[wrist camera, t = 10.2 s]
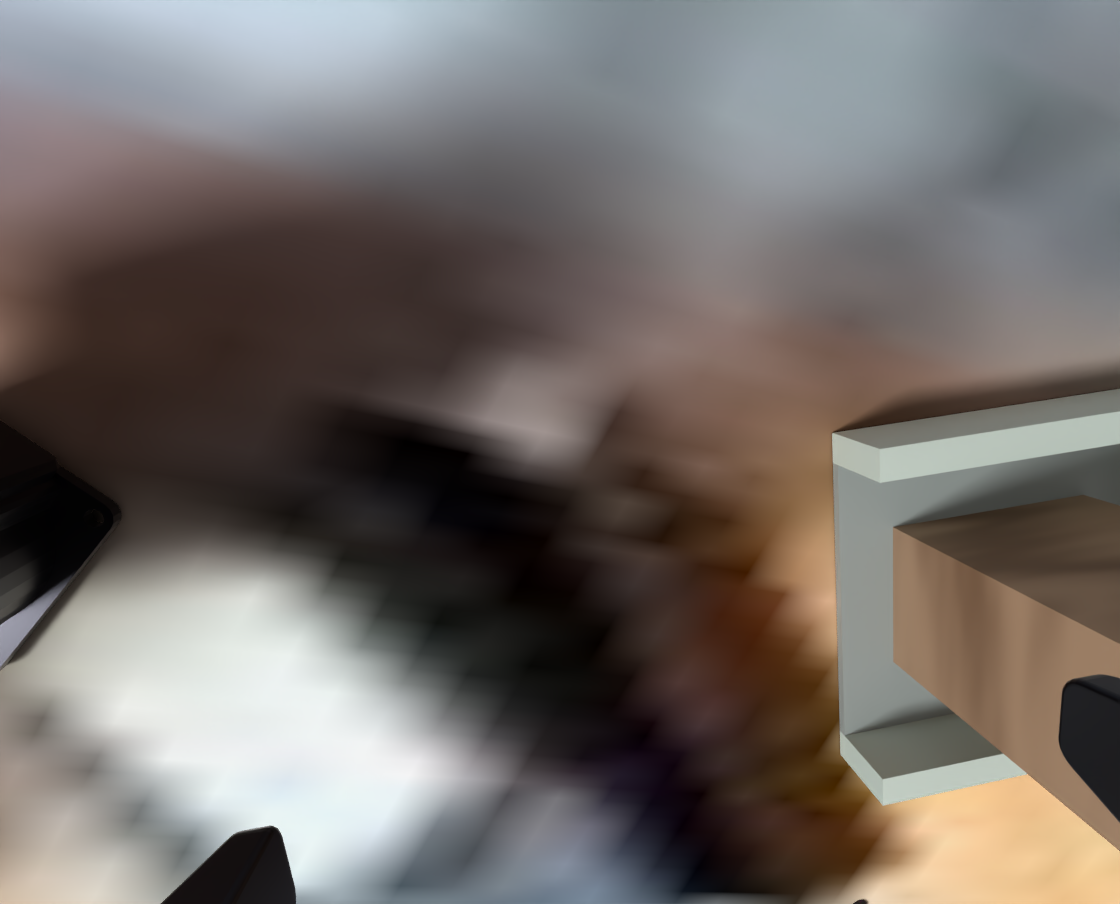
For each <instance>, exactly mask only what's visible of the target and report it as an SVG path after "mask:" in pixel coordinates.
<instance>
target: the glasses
mask: <svg viewBox="0 0 1120 904" xmlns="http://www.w3.org/2000/svg"><path fill="white" fill-rule="evenodd" d="M853 904H867V903H866V902H865V901H864V900H858V901H856V902H855V903H853Z"/></svg>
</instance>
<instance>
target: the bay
mask: <svg viewBox="0 0 1120 904" xmlns="http://www.w3.org/2000/svg"><path fill="white" fill-rule="evenodd" d="M832 446H833V484H834V523H835V561H836V599H837V638H838V676H839V714H840V753H841V756H842V757H843V758H844V759H845V760H846V762H847V763H848V764H849V765H850V766H851V768H852V769H853V770H854V771H855V772H856V774H857V775H858V776H859V777H860V778H861V780H862V781H863V782H864V783H865V784H866V786H867V787H868V788H869V789H870V791H871V792H872V793H873V794H874V795H875V797H876V798H877V799H878V800H879V801H880V803H881V804H882V805H888V804H892V803H897V802H902V801H906V800H911V799H915V798H920V797H924V796H929V795H934V794H938V793H943V792H947V791H952V790H957V789H961V788H966V787H970V786H975V785H980V784H984V783H989V782H993V781H998V780H1003V779H1007V778H1012V777H1016V776H1021V775H1026V774H1027V773H1026V772H1025V771H1023V770H1022V769H1021V768H1020V767H1019V766H1017V765H1016V764H1015V763H1014V762H1013V761H1011V760H1010V759H1009V758H1008V757H1007V756H1006V755H1004V754H1003V753H1002V752H1001V751H1000V750H998V749H997V748H996V747H995V746H994V745H992V744H991V743H990V742H989V741H988V740H986V739H985V738H984V737H983V736H982V735H980V734H979V733H978V732H977V731H976V730H974V729H973V728H972V727H971V726H970V725H968V724H967V723H966V722H965V721H964V720H962V719H961V718H960V717H959V716H958V715H956V714H955V713H954V712H953V711H952V710H950V709H949V708H948V707H947V706H946V705H944V704H943V703H942V702H941V701H940V700H938V699H937V698H936V697H935V696H934V695H932V694H931V693H930V692H929V691H928V690H926V689H925V688H924V687H923V686H922V685H920V684H919V683H918V682H917V681H916V680H915V679H913V678H912V677H911V676H910V675H909V674H907V673H906V672H905V671H904V670H903V669H901V668H900V667H899V666H898V665H897V664H895V663H894V662H893V527H897V526H903V525H909V524H915V523H920V522H926V521H932V520H938V519H944V518H950V517H956V516H962V515H967V514H973V513H979V512H985V511H991V510H997V509H1003V508H1009V507H1015V506H1020V505H1026V504H1032V503H1038V502H1044V501H1050V500H1056V499H1062V498H1067V497H1073V496H1079V495H1086V496H1089V497H1093V498H1096V499H1099V500H1103V501H1106V502H1109V503H1113V504H1116V505H1119V506H1120V389H1115V390H1108V391H1102V392H1095V393H1089V394H1082V395H1076V396H1069V397H1063V398H1056V399H1050V400H1043V401H1037V402H1030V403H1024V404H1017V405H1011V406H1004V407H998V408H991V409H985V410H978V411H972V412H965V413H959V414H952V415H946V416H939V417H933V418H926V419H920V420H913V421H907V422H900V423H894V424H887V425H881V426H874V427H868V428H861V429H855V430H848V431H842V432H835V433H832Z"/></svg>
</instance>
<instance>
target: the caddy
mask: <svg viewBox="0 0 1120 904" xmlns="http://www.w3.org/2000/svg"><path fill="white" fill-rule="evenodd" d="M893 662H894V663H895V664H897V665H898V666H899V667H900V668H901V669H903V670H904V671H905V672H906V673H907V674H909V675H910V676H911V677H912V678H913V679H915V680H916V681H917V682H918V683H919V684H920V685H922V686H923V687H924V688H925V689H926V690H928V691H929V692H930V693H931V694H932V695H934V696H935V697H936V698H937V699H938V700H940V701H941V702H942V703H943V704H944V705H946V706H947V707H948V708H949V709H950V710H952V711H953V712H954V713H955V714H956V715H958V716H959V717H960V718H961V719H962V720H964V721H965V722H966V723H967V724H968V725H970V726H971V727H972V728H973V729H974V730H976V731H977V732H978V733H979V734H980V735H982V736H983V737H984V738H985V739H986V740H988V741H989V742H990V743H991V744H992V745H994V746H995V747H996V748H997V749H998V750H1000V751H1001V752H1002V753H1003V754H1004V755H1006V756H1007V757H1008V758H1009V759H1010V760H1011V761H1013V762H1014V763H1015V764H1016V765H1017V766H1019V767H1020V768H1021V769H1022V770H1023V771H1025V772H1026V773H1027V774H1028V775H1029V776H1031V777H1032V778H1033V779H1034V780H1035V781H1037V782H1038V783H1039V784H1040V785H1041V786H1043V787H1044V788H1045V789H1046V790H1047V791H1049V792H1050V793H1051V794H1052V795H1053V796H1055V797H1056V798H1057V799H1058V800H1059V801H1061V802H1062V803H1063V804H1064V805H1065V806H1067V807H1068V808H1069V809H1070V810H1071V811H1073V812H1074V813H1075V814H1076V815H1077V816H1079V817H1080V818H1081V819H1082V820H1083V821H1085V822H1086V823H1087V824H1088V825H1089V826H1091V827H1092V828H1093V829H1094V830H1095V831H1097V832H1098V833H1099V834H1100V835H1101V836H1102V837H1104V838H1105V839H1106V840H1107V841H1108V842H1110V843H1111V844H1112V845H1113V846H1114V847H1116V848H1117V849H1118V850H1119V851H1120V823H1119V822H1118V821H1117V819H1116V818H1115V817H1114V816H1113V815H1112V814H1111V812H1110V811H1109V810H1108V809H1107V808H1106V807H1105V805H1104V804H1103V803H1102V802H1101V801H1100V800H1099V799H1098V797H1097V796H1096V795H1095V794H1094V793H1093V792H1092V790H1091V789H1090V788H1089V787H1088V786H1087V785H1086V784H1085V782H1084V781H1083V780H1082V779H1081V778H1080V777H1079V775H1078V774H1077V773H1076V772H1075V771H1074V770H1073V768H1072V767H1071V766H1070V765H1069V764H1068V762H1067V761H1066V759H1065V758H1064V756H1063V754H1062V752H1061V749H1060V746H1059V741H1058V735H1059V722H1060V709H1061V696H1062V689H1063V687H1064V685H1065V684H1066V682H1068V681H1069V680H1071V679H1075V678H1080V677H1086V676H1091V675H1097V674H1103V675H1110V676H1114V677H1117V678H1120V506H1119V505H1116V504H1113V503H1109V502H1106V501H1103V500H1099V499H1096V498H1093V497H1089V496H1086V495H1079V496H1073V497H1067V498H1062V499H1056V500H1050V501H1044V502H1038V503H1032V504H1026V505H1020V506H1015V507H1009V508H1003V509H997V510H991V511H985V512H979V513H973V514H967V515H962V516H956V517H950V518H944V519H938V520H932V521H926V522H920V523H915V524H909V525H903V526H897V527H893Z"/></svg>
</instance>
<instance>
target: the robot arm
mask: <svg viewBox="0 0 1120 904" xmlns="http://www.w3.org/2000/svg"><path fill="white" fill-rule="evenodd" d="M93 509H95V510H97V511H100V512H101V513H102V514H103V517H104V522H103V523H101V522H98V521H96V520H95V519H94V518H93V515H92V511H93ZM120 520H121V511H120V509H119V507H118V505H117V504H116V503H115V502H114V501H113V500H111V499H110V498H108V497H107V496H105V495H104V494H102V493H100V492H99V491H97V490H96V489H94V488H93V487H91V486H90V485H88V484H87V483H85V482H84V481H82V480H81V479H79V478H78V477H76V476H75V475H73V474H72V473H70V472H69V471H67V470H66V469H64V468H62V467H61V466H59V464H58V462H57V460H56V458H55V457H54V456H53V455H52V454H50V453H49V452H47V451H46V450H44V449H43V448H41V447H40V446H38V445H36V444H35V443H33V442H32V441H30V440H29V439H27V438H26V437H24V436H23V435H21V434H20V433H18V432H17V431H15V430H14V429H12V428H11V427H9V426H8V425H6V424H5V423H3V422H2V421H0V670H1V669H3V668H4V667H5V666H6V665H7V663H8V662H9V661H10V660H11V658H12V657H13V656H14V655H15V653H16V652H17V651H18V650H19V648H20V647H21V646H22V645H23V643H24V642H25V641H26V640H27V638H28V637H29V636H30V635H31V633H32V632H33V631H34V630H35V628H36V627H37V626H38V625H39V623H40V622H41V621H42V619H43V618H44V617H45V616H46V614H47V613H48V612H49V611H50V609H51V608H52V607H53V606H54V604H55V603H56V602H57V601H58V599H59V598H60V597H61V596H62V594H63V593H64V592H65V591H66V589H67V588H68V587H69V586H70V584H71V583H72V582H73V581H74V579H75V578H76V577H77V576H78V574H79V573H80V572H81V571H82V569H83V568H84V567H85V566H86V564H87V563H88V562H89V561H90V559H91V558H92V557H93V556H94V554H95V553H96V552H97V551H98V549H99V548H100V547H101V546H102V544H103V543H104V542H105V541H106V539H107V538H108V537H109V536H110V534H111V533H112V532H113V530H114V529H115V528H116V527H117V525H118V524H119V522H120ZM1058 741H1059V746H1060V749H1061V752H1062V754H1063V756H1064V758H1065V759H1066V761H1067V762H1068V764H1069V765H1070V766H1071V767H1072V768H1073V770H1074V771H1075V772H1076V773H1077V774H1078V775H1079V777H1080V778H1081V779H1082V780H1083V781H1084V782H1085V784H1086V785H1087V786H1088V787H1089V788H1090V789H1091V790H1092V792H1093V793H1094V794H1095V795H1096V796H1097V797H1098V799H1099V800H1100V801H1101V802H1102V803H1103V804H1104V805H1105V807H1106V808H1107V809H1108V810H1109V811H1110V812H1111V814H1112V815H1113V816H1114V817H1115V818H1116V819H1117V821H1118V822H1119V823H1120V678H1117V677H1114V676H1110V675H1103V674H1097V675H1091V676H1086V677H1080V678H1075V679H1071V680H1069V681H1068V682H1066V684H1065V685H1064V687H1063V689H1062V696H1061V709H1060V722H1059V735H1058ZM161 904H296V893H295V886H294V882H293V878H292V874H291V870H290V866H289V862H288V858H287V854H286V850H285V846H284V842H283V838H282V835H281V833H280V831H279V830H278V828H276V827H274V826H266V827H260V828H255V829H249V830H244V831H240V832H237V833H235V834H233V835H232V836H231V837H230V838H229V839H227V840H226V841H225V842H224V843H223V844H222V845H221V846H220V847H219V848H218V849H217V850H216V851H215V852H214V853H213V854H212V855H211V856H210V857H209V858H208V859H207V860H206V861H205V862H204V863H203V864H201V865H200V866H199V867H198V868H197V869H196V870H195V871H194V872H193V873H192V874H191V875H190V876H189V877H188V878H187V879H186V880H185V881H184V882H183V883H182V884H181V885H180V886H179V887H178V888H177V889H176V890H174V891H173V892H172V893H171V894H170V895H169V896H168V897H167V898H166V899H165V900H164V901H163V902H162V903H161Z"/></svg>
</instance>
